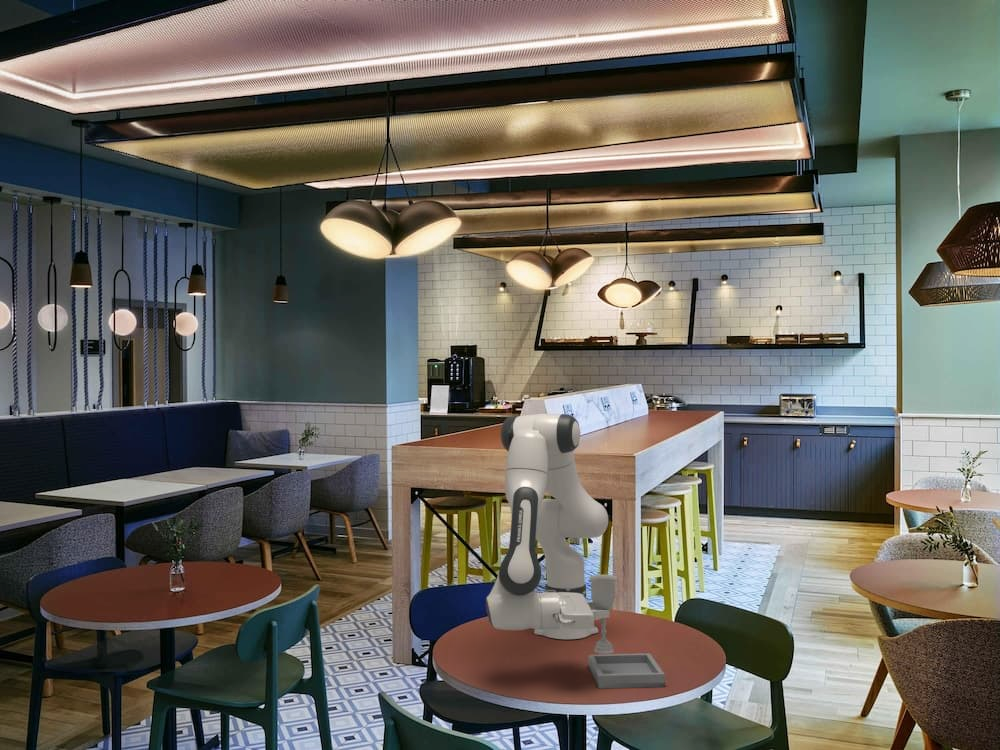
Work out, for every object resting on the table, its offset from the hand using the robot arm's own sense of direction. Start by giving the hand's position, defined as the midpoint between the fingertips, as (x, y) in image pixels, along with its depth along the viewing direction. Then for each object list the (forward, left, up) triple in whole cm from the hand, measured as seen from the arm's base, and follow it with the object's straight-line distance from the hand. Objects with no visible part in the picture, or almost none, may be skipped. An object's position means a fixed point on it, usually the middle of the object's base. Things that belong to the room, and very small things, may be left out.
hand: (607, 609), depth 209 cm
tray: (0, +4, -17) cm, 17 cm away
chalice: (0, -1, -10) cm, 10 cm away
